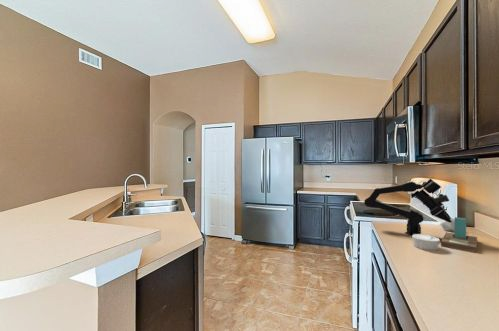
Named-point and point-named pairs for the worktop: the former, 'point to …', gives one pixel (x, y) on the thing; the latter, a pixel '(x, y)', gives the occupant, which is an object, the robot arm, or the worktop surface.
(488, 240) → the worktop surface
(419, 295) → the worktop surface
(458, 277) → the worktop surface
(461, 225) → the teal block
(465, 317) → the worktop surface
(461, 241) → the puzzle board
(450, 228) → the die
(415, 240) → the ramekin
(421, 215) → the robot arm
